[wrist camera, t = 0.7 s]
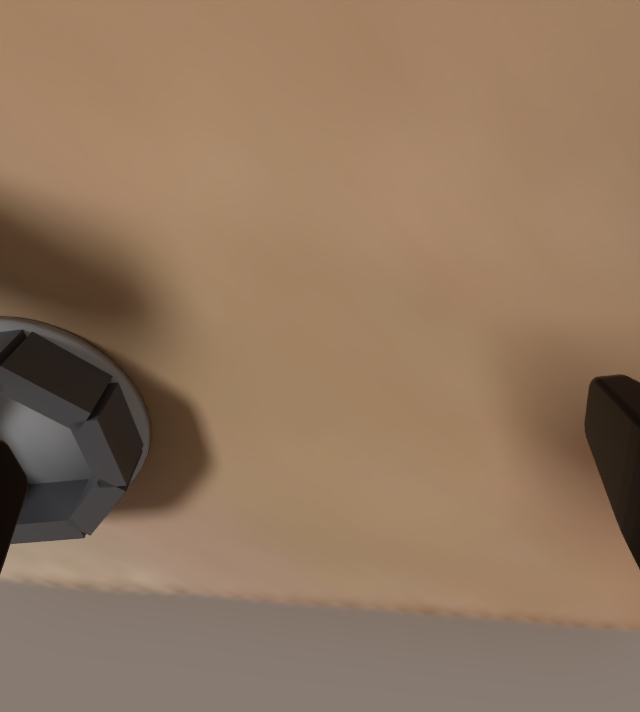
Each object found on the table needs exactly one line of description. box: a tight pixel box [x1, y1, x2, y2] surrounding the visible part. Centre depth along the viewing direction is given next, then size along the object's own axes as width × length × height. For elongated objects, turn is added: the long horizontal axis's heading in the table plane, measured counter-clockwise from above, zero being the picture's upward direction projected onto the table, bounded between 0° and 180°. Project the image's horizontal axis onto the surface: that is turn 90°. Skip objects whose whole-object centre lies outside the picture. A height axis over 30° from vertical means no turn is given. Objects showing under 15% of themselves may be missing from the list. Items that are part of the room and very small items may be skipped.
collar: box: [0, 316, 151, 544], centre depth 24 cm, size 10×10×3 cm
